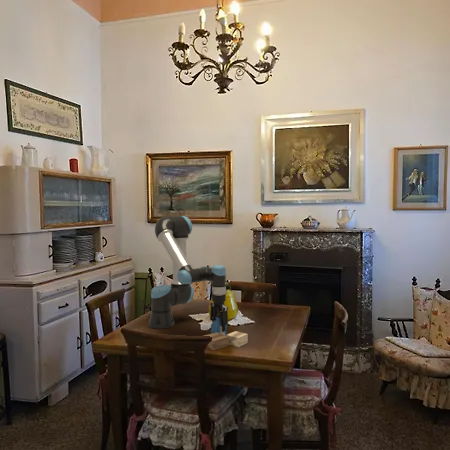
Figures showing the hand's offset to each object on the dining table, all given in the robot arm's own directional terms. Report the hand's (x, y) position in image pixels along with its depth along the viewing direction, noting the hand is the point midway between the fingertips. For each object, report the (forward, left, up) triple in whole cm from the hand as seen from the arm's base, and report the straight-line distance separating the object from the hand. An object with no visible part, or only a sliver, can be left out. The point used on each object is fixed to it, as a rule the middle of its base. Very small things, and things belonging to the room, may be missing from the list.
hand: (218, 335), depth 236 cm
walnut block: (+11, -10, -1) cm, 15 cm away
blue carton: (0, 0, -1) cm, 1 cm away
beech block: (+15, +1, -1) cm, 15 cm away
